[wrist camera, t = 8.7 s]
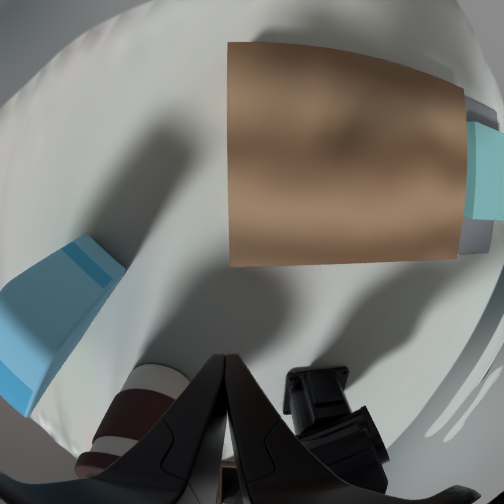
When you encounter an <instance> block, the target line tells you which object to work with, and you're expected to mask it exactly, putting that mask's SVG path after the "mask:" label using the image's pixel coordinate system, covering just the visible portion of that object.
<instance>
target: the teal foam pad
mask: <svg viewBox="0 0 504 504" xmlns="http://www.w3.org/2000/svg"><path fill="white" fill-rule="evenodd" d="M463 216H465V217H468V218H471V219H480V220H500V221H504V133H501V132H499V131H497V130H495V129H492V128H490V127H488V126H485V125H483V124H480V123H478V122H475V121H472V122H467V181H466V195H465V206H464V215H463Z"/></svg>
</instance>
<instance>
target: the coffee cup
mask: <svg viewBox="0 0 504 504" xmlns="http://www.w3.org/2000/svg"><path fill="white" fill-rule="evenodd" d="M189 383H190V381H189V380H188V379H187V378H186V377H185V376H184V375H182V374H181V373H179V372H178V371H176V370H174V369H172V368H169V367H166V366H163V365H157V364H146V365H141V366H139V367H137V368H135V369H134V370H133V371H132V372H131V373H130V374H129V376H128V378H127V380H126V382H125V384H124V386H123V387H122V389H121V391H120V392H119V393H118V394H117V395H116V396H115V398H114V399H113V401H112V403H111V405H110V407H109V409H108V410H107V412H106V414H105V416H104V418H103V420H102V422H101V424H100V426H99V428H98V430H97V432H96V433H95V435H94V438H93V441H92V445H93V446H92V448H91V450H90V452H84V453H82V454H81V455H80V456H79V457H78V460H77V463H76V465H75V473H76V475H77V476H78V478H79V479H82V478H87V477H91V476H94V475H96V474H98V473H100V472H102V471H104V470H105V469H106V468H108V467H109V466H110V465H111V464H113V463H114V462H115V461H116V460H117V459H119V458H120V457H121V456H122V455H123V454H125V453H126V452H127V451H128V450H129V449H130V448H132V447H133V446H134V445H135V444H136V443H137V442H138V441H139V440H140V439H141V438H143V437H144V436H145V435H146V434H147V432H148V431H149V430H150V429H151V428H152V427H153V426H154V425H155V424H156V423H157V421H158V420H159V419H160V418H162V416H163V414H164V413H165V412H166V411H167V410H168V409H169V407H170V406H171V405H172V404H173V403H174V401H175V400H176V399H177V398H178V397H179V395H180V394H181V393H182V392H183V390H184V389H185V388H186V387H187V386H188V384H189Z"/></svg>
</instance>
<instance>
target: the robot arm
mask: <svg viewBox="0 0 504 504" xmlns="http://www.w3.org/2000/svg"><path fill="white" fill-rule="evenodd" d="M348 374H349V370H348V368H347V367H339V368H332V369H324V370H315V371H305V372H295V373H289V374H287V375H286V382H285V392H284V401H283V414H285V415H290V414H292V419H293V424H294V429H295V434H296V435H294V433H293V432H292V431H291V430H290V428H289V427H288V426H287V424H286V423H285V422H284V420H283V419H282V418H281V416H280V415H279V413H278V412H277V411H276V409H275V408H274V406H273V405H272V404H271V402H270V401H269V399H268V398H267V396H266V395H265V393H264V392H263V390H262V389H261V387H260V386H259V384H258V383H257V382H256V380H255V379H254V377H253V375H252V374H251V372H250V371H249V369H248V368H247V366H246V365H245V363H244V362H243V360H242V359H241V357H240V356H239V354H227V355H225V354H213V355H212V356H211V357H210V358H209V360H208V361H207V362H206V363H205V365H204V366H203V367H202V368H201V370H200V371H199V372H198V373H197V375H196V376H195V377H194V378H193V379H192V381H191V382H190V383H189V384H188V386H187V387H186V388H185V389H184V390H183V392H182V393H181V394H180V395H179V397H178V398H177V399H176V400H175V401H174V403H173V404H172V405H171V406H170V407H169V409H168V410H167V411H166V412H165V413H164V414H163V416H162V418H160V419H159V420H158V421H157V423H156V424H155V425H154V426H153V427H152V428H151V429H150V430H149V431H148V432H147V434H146V435H145V436H144V437H143V438H141V439H140V440H139V441H138V442H137V443H136V444H135V445H134V446H133V447H132V448H130V449H129V450H128V451H127V452H126V453H125V454H123V455H122V456H121V457H120V458H119V459H117V460H116V461H115V462H114V463H113V464H111V465H110V466H109V467H108V468H106V469H105V470H104V471H102V472H100V473H98V474H96V475H94V476H91V477H87V478H82V479H76V480H69V481H62V482H53V483H44V484H28V483H22V482H19V481H16V480H14V479H12V478H11V477H9V476H7V475H6V474H4V473H3V472H1V471H0V499H2V500H3V501H4V502H6V503H7V504H215V502H216V495H217V488H218V480H219V473H220V466H221V459H222V451H223V444H224V437H225V430H226V422H227V413H228V421H229V428H230V434H231V440H232V445H233V451H234V457H235V462H236V468H237V473H238V478H239V483H240V488H241V493H242V498H243V503H244V504H472V503H473V502H475V501H476V500H478V499H479V498H480V497H481V495H480V494H479V493H478V492H477V491H475V490H473V489H470V488H467V487H463V486H459V485H454V486H452V487H450V488H447V489H446V490H444V491H442V492H440V493H438V494H436V495H434V496H432V497H429V498H426V499H420V500H409V499H402V498H398V497H393V496H389V495H385V493H386V489H387V485H388V480H387V477H386V475H385V472H384V470H383V467H382V464H384V463H386V462H388V461H390V459H389V456H388V453H387V451H386V448H385V446H384V443H383V441H382V439H381V436H380V434H379V432H378V430H377V428H376V426H375V424H374V422H373V420H372V418H371V416H370V414H369V412H368V410H367V408H366V406H363V407H361V408H360V409H359V410H357V411H355V412H353V413H352V411H351V408H350V406H349V403H348V401H347V399H346V396H345V394H344V388H345V384H346V381H347V377H348ZM291 377H292V378H291ZM487 504H504V491H503V492H502V493H500V494H499V495H498V496H497V497H495V498H494V499H493V500H491V501H490V502H489V503H487Z"/></svg>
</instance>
